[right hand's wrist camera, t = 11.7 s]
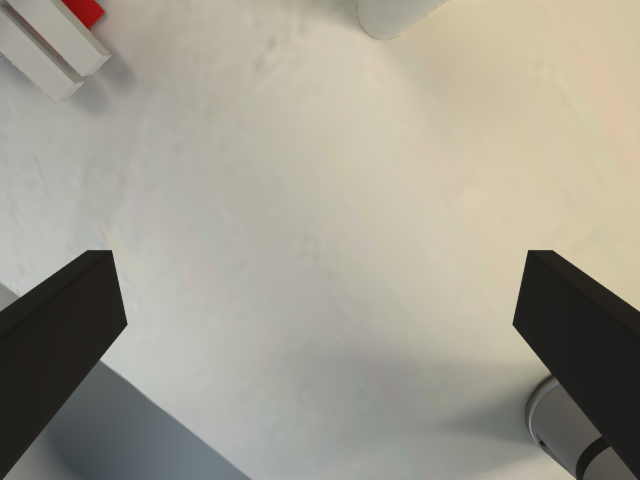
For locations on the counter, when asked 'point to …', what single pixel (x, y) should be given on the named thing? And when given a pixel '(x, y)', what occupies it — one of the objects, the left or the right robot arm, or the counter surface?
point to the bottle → (393, 15)
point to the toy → (52, 42)
